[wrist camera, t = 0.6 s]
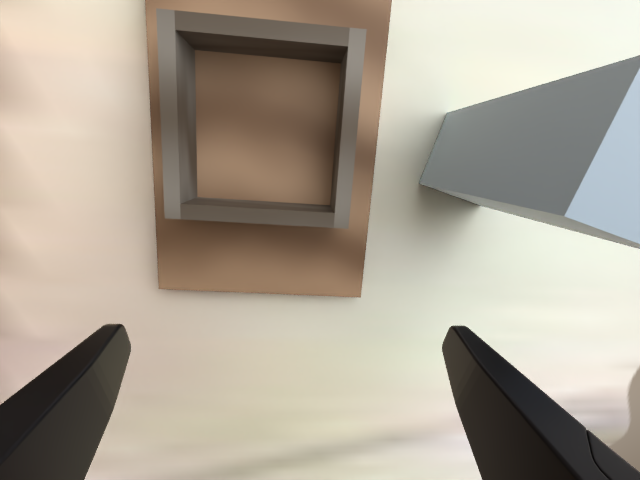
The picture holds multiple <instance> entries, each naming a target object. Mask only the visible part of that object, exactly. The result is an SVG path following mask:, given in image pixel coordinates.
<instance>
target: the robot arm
mask: <svg viewBox="0 0 640 480" xmlns="http://www.w3.org/2000/svg"><path fill="white" fill-rule="evenodd" d="M130 352H131V344H130V341H129V338H128V335H127V332H126V329H125V327H124V326H123V325H122V324H106V325H104V326H102V327H101V328H100V329H98V330H97V331H96V332H94V333H93V334H92V335H90V336H89V337H88V338H87V339H85V340H84V341H83V342H81V343H80V344H79V345H77V346H76V347H75V348H74V349H72V350H71V351H70V352H68V353H67V354H66V355H65V356H63V357H62V358H61V359H59V360H58V361H57V362H55V363H54V364H53V365H52V366H50V367H49V368H48V369H46V370H45V371H44V372H42V373H41V374H40V375H39V376H37V377H36V378H35V379H33V380H32V381H31V382H29V383H28V384H27V385H26V386H24V387H23V388H22V389H20V390H19V391H18V392H16V393H15V394H14V395H13V396H11V397H10V398H9V399H7V400H6V401H5V402H4V403H2V404H1V405H0V480H84V479H85V477H86V474H87V472H88V469H89V467H90V465H91V462H92V460H93V457H94V455H95V453H96V450H97V448H98V445H99V443H100V441H101V438H102V436H103V434H104V431H105V429H106V426H107V424H108V422H109V419H110V417H111V414H112V411H113V409H114V406H115V403H116V400H117V396H118V393H119V389H120V386H121V383H122V379H123V376H124V373H125V369H126V366H127V362H128V359H129V356H130ZM442 352H443V356H444V360H445V364H446V368H447V372H448V376H449V380H450V385H451V389H452V393H453V397H454V400H455V404H456V407H457V410H458V413H459V416H460V418H461V421H462V424H463V427H464V430H465V432H466V435H467V438H468V441H469V444H470V446H471V449H472V452H473V455H474V457H475V460H476V463H477V466H478V469H479V471H480V474H481V477H482V480H640V472H639V471H638V470H636V469H635V468H634V467H633V466H631V465H630V464H629V463H627V462H626V461H625V460H624V459H623V458H621V457H620V456H619V455H618V454H616V453H615V452H614V451H613V450H612V449H610V448H609V447H608V446H607V445H606V444H604V443H603V442H602V441H601V440H600V439H599V438H597V437H596V436H595V435H594V434H593V433H591V432H590V431H589V430H586V428H585V427H584V426H583V425H582V424H581V423H580V422H578V421H577V420H576V419H575V418H574V417H572V416H571V415H570V414H569V413H568V412H567V411H565V410H564V409H563V408H562V407H561V406H560V405H558V404H557V403H556V402H555V401H554V400H552V399H551V398H550V397H549V396H548V395H547V394H545V393H544V392H543V391H542V390H541V389H539V388H538V387H537V386H536V385H535V384H534V383H532V382H531V381H530V380H529V379H528V378H527V377H525V376H524V375H523V374H522V373H521V372H519V371H518V370H517V369H516V368H515V367H514V366H512V365H511V364H510V363H509V362H508V361H507V360H505V359H504V358H503V357H502V356H501V355H499V354H498V353H497V352H496V351H495V350H494V349H492V348H491V347H490V346H489V345H488V344H486V343H485V342H484V341H483V340H482V339H481V338H479V337H478V336H477V335H476V334H475V333H474V332H472V331H471V330H470V329H469V328H468V327H466V326H451V327H450V328H449V330H448V332H447V335H446V337H445V339H444V342H443V345H442Z"/></svg>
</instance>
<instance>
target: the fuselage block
mask: <svg viewBox="0 0 640 480" xmlns="http://www.w3.org/2000/svg"><path fill="white" fill-rule="evenodd" d="M419 184H422V185H424V186H427V187H430V188H433V189H436V190H438V191H441V192H444V193H447V194H450V195H452V196H455V197H458V198H461V199H464V200H466V201H469V202H472V203H475V204H478V205H480V206H484V207H488V208H491V209H495V210H499V211H502V212H506V213H510V214H513V215H517V216H521V217H524V218H528V219H532V220H535V221H539V222H543V223H546V224H550V225H554V226H557V227H561V228H565V229H569V230H572V231H576V232H580V233H583V234H587V235H591V236H594V237H598V238H602V239H605V240H609V241H613V242H616V243H620V244H624V245H627V246H631V247H635V248H639V249H640V56H636V57H633V58H630V59H626V60H623V61H619V62H616V63H613V64H609V65H606V66H603V67H599V68H596V69H593V70H589V71H586V72H583V73H579V74H576V75H573V76H569V77H566V78H562V79H559V80H556V81H552V82H549V83H546V84H542V85H539V86H536V87H532V88H529V89H526V90H522V91H519V92H516V93H512V94H509V95H505V96H502V97H499V98H495V99H492V100H489V101H485V102H482V103H479V104H475V105H472V106H469V107H465V108H462V109H459V110H455V111H452V112H448V113H447V114H446V117H445V119H444V122H443V124H442V127H441V129H440V132H439V134H438V137H437V139H436V142H435V144H434V147H433V149H432V152H431V154H430V157H429V159H428V162H427V164H426V167H425V169H424V172H423V174H422V177H421V179H420V181H419Z"/></svg>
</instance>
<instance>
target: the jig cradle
mask: <svg viewBox="0 0 640 480" xmlns="http://www.w3.org/2000/svg"><path fill="white" fill-rule="evenodd" d="M391 3H392V0H145V5H146V26H147V47H148V68H149V90H150V111H151V132H152V153H153V174H154V195H155V216H156V238H157V259H158V280H159V289H175V290H199V291H223V292H246V293H270V294H294V295H318V296H342V297H361V288H362V279H363V269H364V260H365V250H366V241H367V231H368V222H369V212H370V203H371V193H372V184H373V174H374V165H375V155H376V146H377V136H378V127H379V117H380V108H381V98H382V88H383V79H384V69H385V60H386V50H387V41H388V31H389V22H390V12H391Z"/></svg>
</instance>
